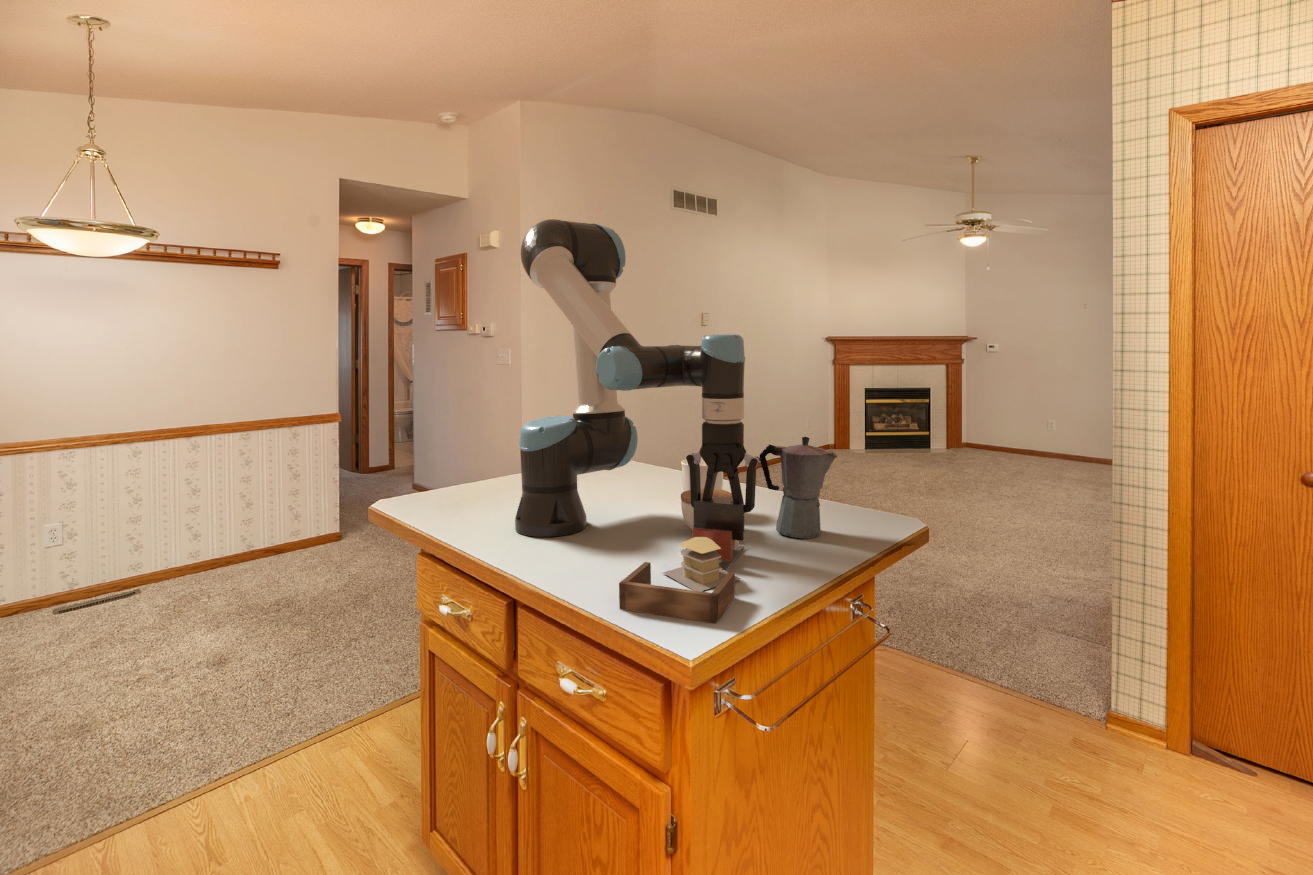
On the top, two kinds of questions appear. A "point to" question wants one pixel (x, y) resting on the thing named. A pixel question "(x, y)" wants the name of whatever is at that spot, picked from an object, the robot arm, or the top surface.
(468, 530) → the top surface
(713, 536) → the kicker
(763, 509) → the top surface
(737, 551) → the grey flat block
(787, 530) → the moka pot
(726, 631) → the top surface
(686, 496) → the lidded jar
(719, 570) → the stacked layers on plate
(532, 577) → the top surface
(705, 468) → the candle holder
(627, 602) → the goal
